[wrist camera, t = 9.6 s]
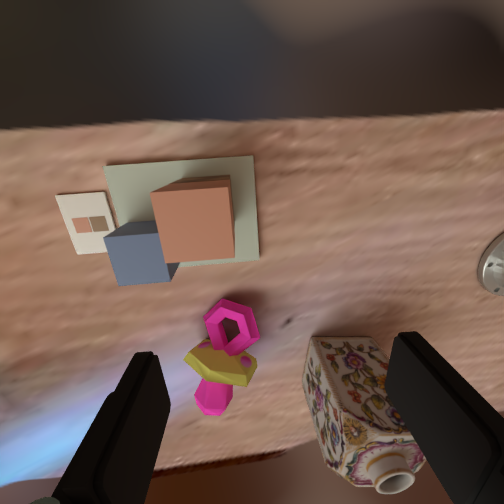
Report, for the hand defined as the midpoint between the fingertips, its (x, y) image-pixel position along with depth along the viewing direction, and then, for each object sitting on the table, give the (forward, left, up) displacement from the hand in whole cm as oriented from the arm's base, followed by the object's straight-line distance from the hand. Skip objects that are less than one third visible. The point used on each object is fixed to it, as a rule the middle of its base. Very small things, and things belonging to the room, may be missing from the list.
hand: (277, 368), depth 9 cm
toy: (+6, +21, -25) cm, 33 cm away
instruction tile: (+21, -1, -25) cm, 32 cm away
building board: (+8, -1, -25) cm, 26 cm away
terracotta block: (+5, -3, -18) cm, 19 cm away
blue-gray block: (+13, +2, -24) cm, 27 cm away
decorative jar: (-14, +28, -25) cm, 40 cm away
